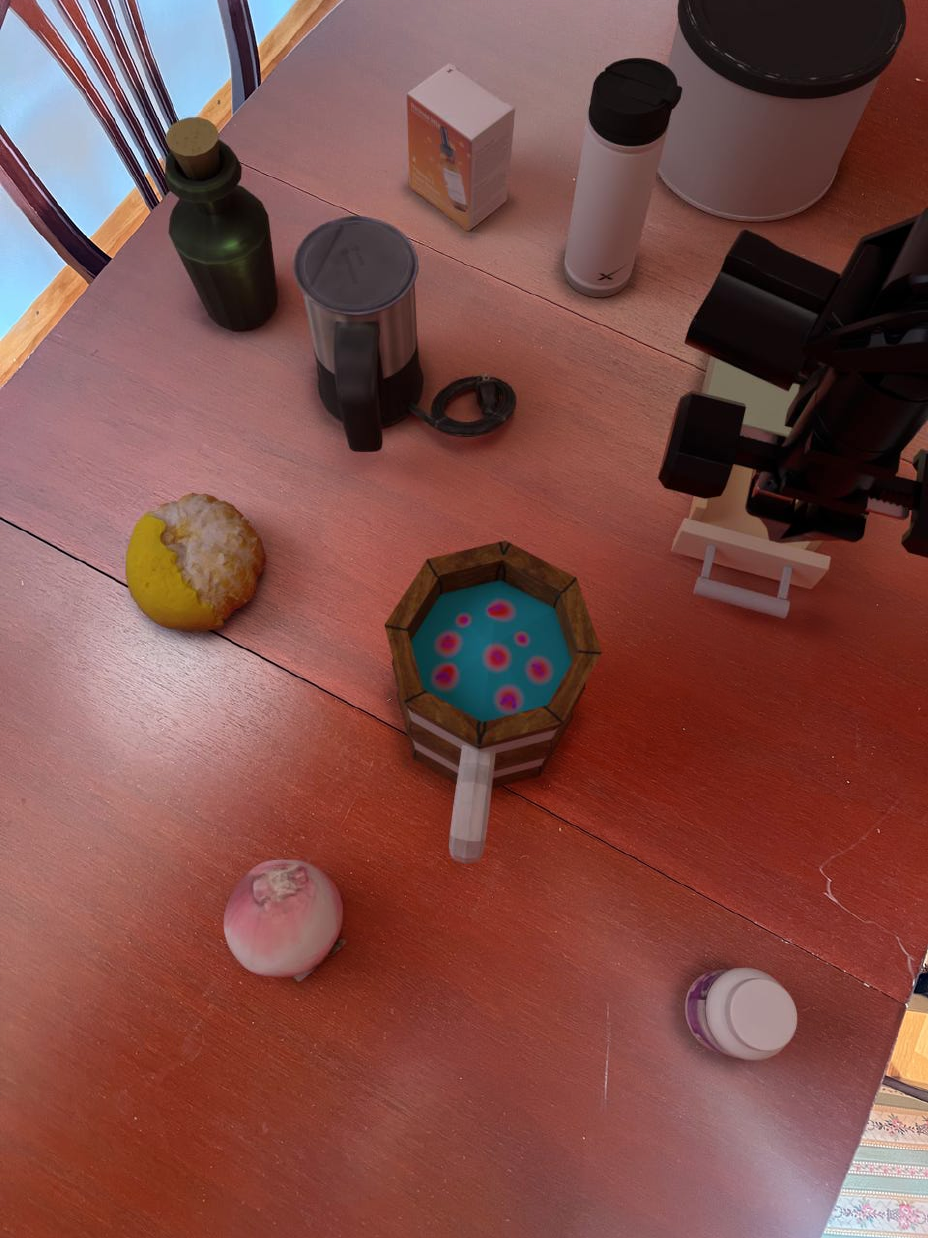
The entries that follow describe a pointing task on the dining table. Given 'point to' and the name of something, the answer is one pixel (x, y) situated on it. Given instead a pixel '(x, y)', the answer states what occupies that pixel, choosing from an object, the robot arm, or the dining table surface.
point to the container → (771, 98)
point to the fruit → (193, 563)
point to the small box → (459, 145)
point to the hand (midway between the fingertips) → (775, 535)
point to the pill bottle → (741, 1013)
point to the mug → (488, 673)
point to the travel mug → (617, 172)
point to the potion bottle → (219, 227)
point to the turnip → (284, 919)
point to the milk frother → (377, 334)
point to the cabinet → (751, 396)
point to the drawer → (745, 549)
